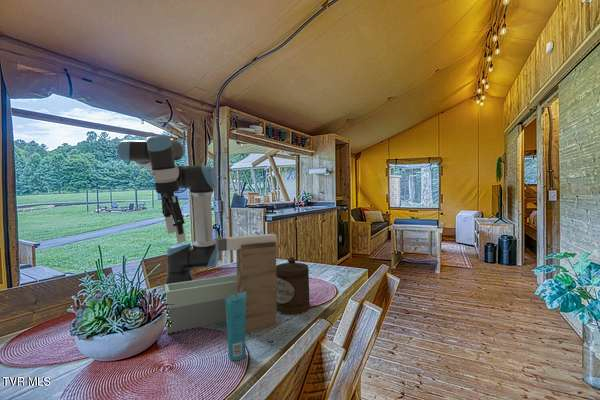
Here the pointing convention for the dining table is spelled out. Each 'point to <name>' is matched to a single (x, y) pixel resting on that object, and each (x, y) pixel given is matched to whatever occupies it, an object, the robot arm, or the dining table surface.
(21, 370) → the dining table surface
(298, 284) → the wooden container
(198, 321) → the tray
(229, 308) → the tube
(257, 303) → the tan tall block
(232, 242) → the sleeve
